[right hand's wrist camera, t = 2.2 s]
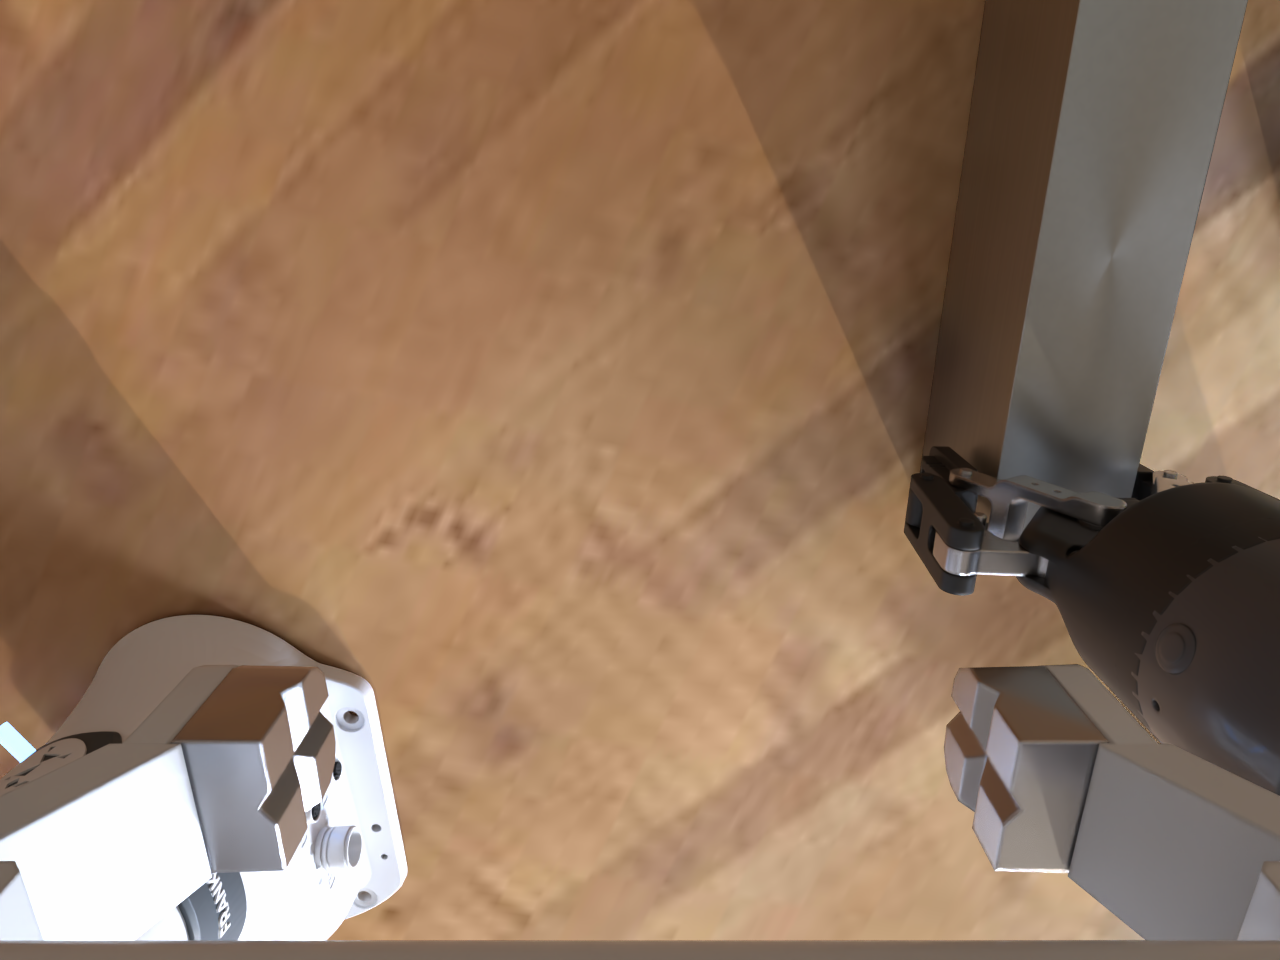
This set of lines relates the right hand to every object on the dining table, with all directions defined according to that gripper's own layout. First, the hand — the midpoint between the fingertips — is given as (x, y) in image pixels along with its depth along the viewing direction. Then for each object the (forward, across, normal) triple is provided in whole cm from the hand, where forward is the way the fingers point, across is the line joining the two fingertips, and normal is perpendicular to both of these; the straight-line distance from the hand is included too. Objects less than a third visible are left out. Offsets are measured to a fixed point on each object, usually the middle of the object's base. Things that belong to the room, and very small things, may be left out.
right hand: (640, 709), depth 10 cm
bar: (+31, +18, +4) cm, 36 cm away
